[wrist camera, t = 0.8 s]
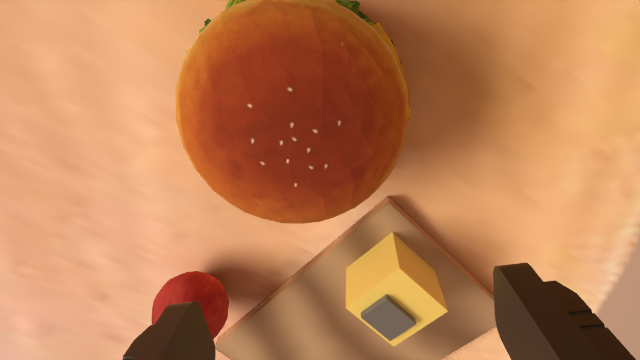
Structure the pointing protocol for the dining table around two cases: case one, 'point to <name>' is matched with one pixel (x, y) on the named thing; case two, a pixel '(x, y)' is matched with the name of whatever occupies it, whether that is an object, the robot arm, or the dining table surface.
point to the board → (344, 327)
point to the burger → (292, 107)
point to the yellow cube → (393, 290)
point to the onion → (195, 298)
